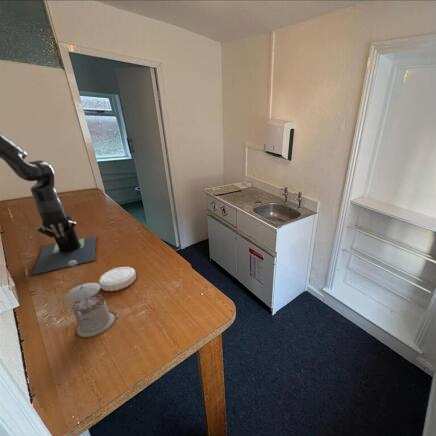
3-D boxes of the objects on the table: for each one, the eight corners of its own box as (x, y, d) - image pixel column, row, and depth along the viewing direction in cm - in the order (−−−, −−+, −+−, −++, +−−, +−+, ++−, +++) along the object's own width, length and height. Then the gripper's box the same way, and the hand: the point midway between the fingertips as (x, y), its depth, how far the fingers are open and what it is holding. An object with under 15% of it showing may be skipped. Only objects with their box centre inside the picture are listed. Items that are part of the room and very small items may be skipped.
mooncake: (110, 295, 88) (108, 288, 86) (94, 284, 93) (92, 276, 91) (142, 278, 97) (140, 271, 96) (126, 268, 102) (124, 262, 101)
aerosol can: (75, 242, 118) (62, 205, 110) (85, 246, 115) (71, 209, 107) (55, 249, 111) (39, 211, 103) (64, 254, 108) (48, 215, 100)
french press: (102, 336, 72) (77, 271, 62) (62, 337, 71) (29, 271, 61) (121, 312, 81) (101, 251, 71) (85, 312, 80) (60, 251, 70)
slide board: (32, 275, 95) (32, 274, 95) (43, 246, 113) (43, 246, 113) (94, 260, 106) (94, 260, 106) (95, 236, 125) (95, 236, 125)
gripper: (71, 203, 106) (83, 236, 113) (30, 208, 99) (45, 243, 106) (70, 208, 101) (82, 242, 108) (26, 214, 93) (42, 251, 100)
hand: (64, 243), depth 107 cm, fingers closed
